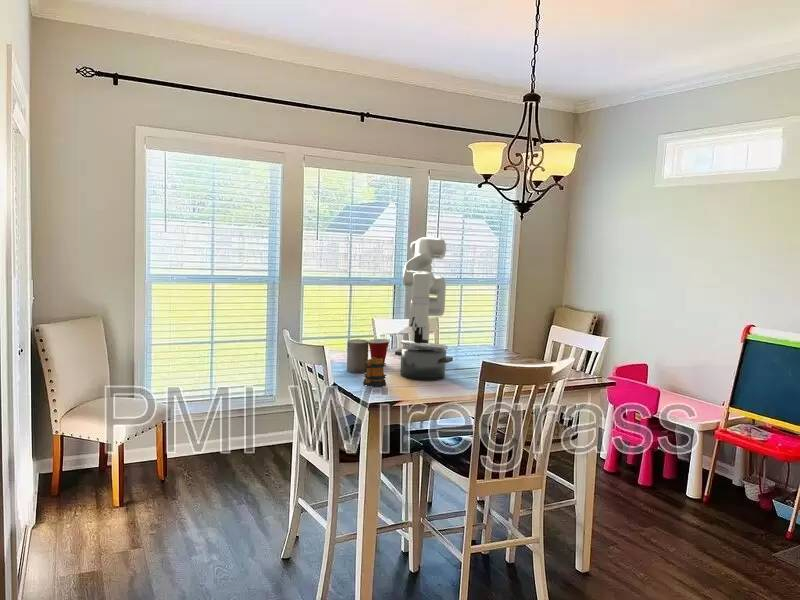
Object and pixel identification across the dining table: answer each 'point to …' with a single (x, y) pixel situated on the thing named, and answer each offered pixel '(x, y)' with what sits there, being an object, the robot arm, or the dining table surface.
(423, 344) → the lid
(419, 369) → the pot
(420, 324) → the robot arm
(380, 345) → the plastic cup
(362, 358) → the pillar candle
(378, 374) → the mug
